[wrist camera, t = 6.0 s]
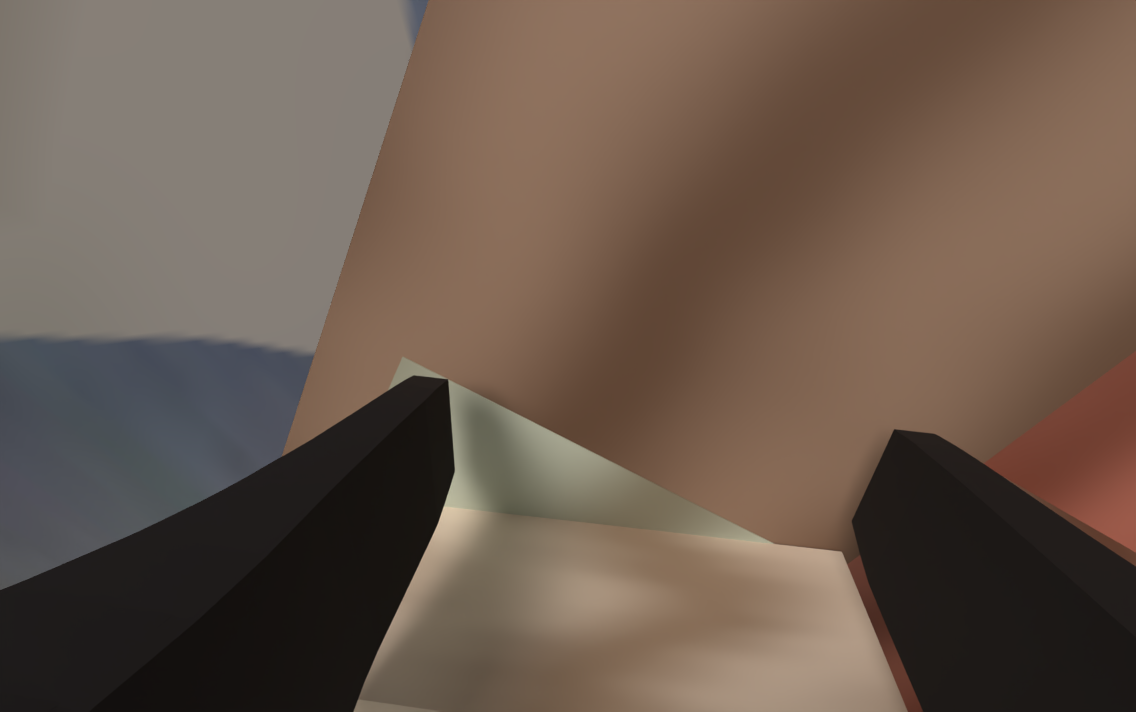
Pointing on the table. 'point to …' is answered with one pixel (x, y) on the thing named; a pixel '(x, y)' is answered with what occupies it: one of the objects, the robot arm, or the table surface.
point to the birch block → (624, 625)
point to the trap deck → (754, 259)
